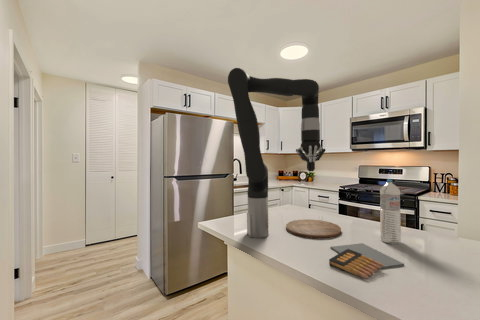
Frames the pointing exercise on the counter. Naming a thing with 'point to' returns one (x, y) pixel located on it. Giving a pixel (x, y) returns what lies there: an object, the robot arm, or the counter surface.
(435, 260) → the counter surface
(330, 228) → the trivet
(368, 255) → the slate mat
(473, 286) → the counter surface
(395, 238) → the water bottle
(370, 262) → the ammunition clip
